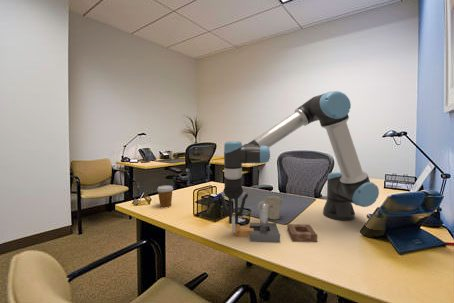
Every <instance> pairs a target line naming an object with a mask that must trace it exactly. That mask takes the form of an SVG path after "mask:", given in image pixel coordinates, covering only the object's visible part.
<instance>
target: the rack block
mask: <svg viewBox="0 0 454 303" xmlns="http://www.w3.org/2000/svg"><path fill="white" fill-rule="evenodd" d="M286 231H287V234H288V235H289V238H290V240H291V241H292V242H299V243H300V242H303V243H305V242H306V243H310V242H311V243H317V242H318V234H317V233H316V231H315V230H314V228H313V227H312V226H311V224H300V223H299V224H298V223H296V224H295V223H293V224H292V223H291V224H290V223H287V224H286Z"/></svg>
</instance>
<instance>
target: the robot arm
mask: <svg viewBox="0 0 454 303" xmlns="http://www.w3.org/2000/svg"><path fill="white" fill-rule="evenodd" d="M351 105H352V104H351V100H350V98H349V96H347V94H345V93H344V92H341V91H338V90H335V91H328V92H325V93H322V94H319V95H316V96H313V97H311V98H310V99H308V100H307V101H306V102H304V103H303V104H302V105H300V106H299V107H298V108H296V109H295V110H294V112H293V113H292V114H290V115H288V116H287V117H286V118H284V119H282V120H281V121H280V122H278V123H277V124H275V125H273V126H271V128H269V129H268V130H266V131H265V132H263V133H262V134H260V135H259V136H257V137H255V138H254V139H253V140H251V141H249V142H248V143H244V144H242V141H226V142H224V146H223V147H224V150H223V165H224V169H223V172H224V173H223V174H224V175H223V176H224V178H223V179H224V184H223V185H224V188H223V191H221V192H219V193H218V197H219V199H220V201H221V204H222V209H223V213H224V215H225V216H227V217H228V223H229V224H230V225H231V233H235V224H238V223H239V217H240V216H243V211H244V209H245V208H244V207H245V205H246V204H245V203H246V200H247V198H248V197H249V193H248V192H246V191H245V190H244V189H243V179H242V177H243V164H265V163H268V162H270V158H271V151H270V148H271V147H272V146H274V145H276V144H277V143H279V142H280V141H281V140H283V139H285V138H286V137H287V136H289V135H290V134H292V133H294V132H295V131H296V130H298V129H300V128H301V127H303V126H308V125H310V124H312V123H313V122H317V121H319V123H320V127H321V128H324V129H325V130H326V134H327V136H328V139H329V142H330V146H331V147H332V151H333V153H334V157H335V158H336V162H337V165H338V167H339V170H340V172H338V171H337V172H330V173H328V174H327V179H326V181H327V185H326V187H327V188H326V191H327V192H326V193H327V194H326V201H325V204H324V206H323V209H322V210H323V211H322V213H323V216H325V217H327V218H329V219H333V220H337V221H353V220H355V218H356V213H355V210H354V205H355V206H359V207H362V208H366V207H367V208H368V207H370V206H372V205H373V204H375V203H376V201H377V200H378V198H379V194H380V192H379V190H380V189H379V187H378V185H376V183H374V182H373V181H372V182H371V180H370V177H369V174H368V173H367V172H366V171H363V169H362V166H361V162H360V160H359V157H358V154H357V150H356V147H355V144H354V141H353V138H352V136H351V132H350V129H349V126H348V123H347V122H348V121H349V119H350V117H349V116H350V115H349V113H350V111H351V110H350V109H351ZM241 195H242V199H241V203H240V207H238V206H239V202H238V201H239V200H238V199H239V198H240V197H241ZM225 196H226V197H227V199H228V207H227V202H226V200H225ZM233 200H234V214H233ZM353 204H354V205H353Z"/></svg>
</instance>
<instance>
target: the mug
mask: <svg viewBox="0 0 454 303" xmlns="http://www.w3.org/2000/svg"><path fill="white" fill-rule="evenodd" d="M262 202H264V203H268V220H269V219H270V220H280V218H281V217H280V216H281V209H282V208H281V207H282V202H283V199H282V198H281V197H278V196H267V197H265V200H261V201H259V202H258V204H257V210H258V211H259V212H260V203H262Z"/></svg>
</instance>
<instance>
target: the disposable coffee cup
mask: <svg viewBox="0 0 454 303" xmlns="http://www.w3.org/2000/svg"><path fill="white" fill-rule="evenodd" d="M156 190H157V195H158V200H159V206H161V207H168V208H170V207H171V206H172V199H173V191H174V188H173V185H160V186H158V187H157V189H156ZM169 206H170V207H169ZM161 207H160V208H161Z"/></svg>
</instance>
